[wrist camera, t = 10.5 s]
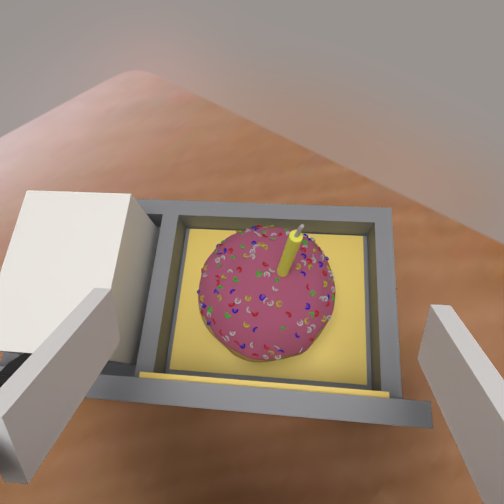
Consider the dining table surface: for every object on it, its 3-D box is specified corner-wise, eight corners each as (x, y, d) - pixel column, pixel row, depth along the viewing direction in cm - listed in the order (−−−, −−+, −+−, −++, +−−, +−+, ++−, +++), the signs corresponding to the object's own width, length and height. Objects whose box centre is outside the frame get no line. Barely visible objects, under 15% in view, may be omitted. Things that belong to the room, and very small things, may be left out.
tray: (30, 385, 28) (-67, 384, 20) (74, 216, 32) (11, 163, 25) (386, 416, 25) (433, 428, 18) (378, 228, 30) (412, 173, 22)
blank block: (49, 358, 27) (-25, 348, 21) (81, 232, 30) (26, 190, 24) (141, 365, 26) (95, 358, 20) (163, 236, 30) (130, 193, 23)
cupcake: (289, 232, 29) (295, 134, 18) (351, 328, 26) (404, 282, 15) (191, 285, 28) (131, 216, 17) (244, 390, 25) (215, 392, 14)
